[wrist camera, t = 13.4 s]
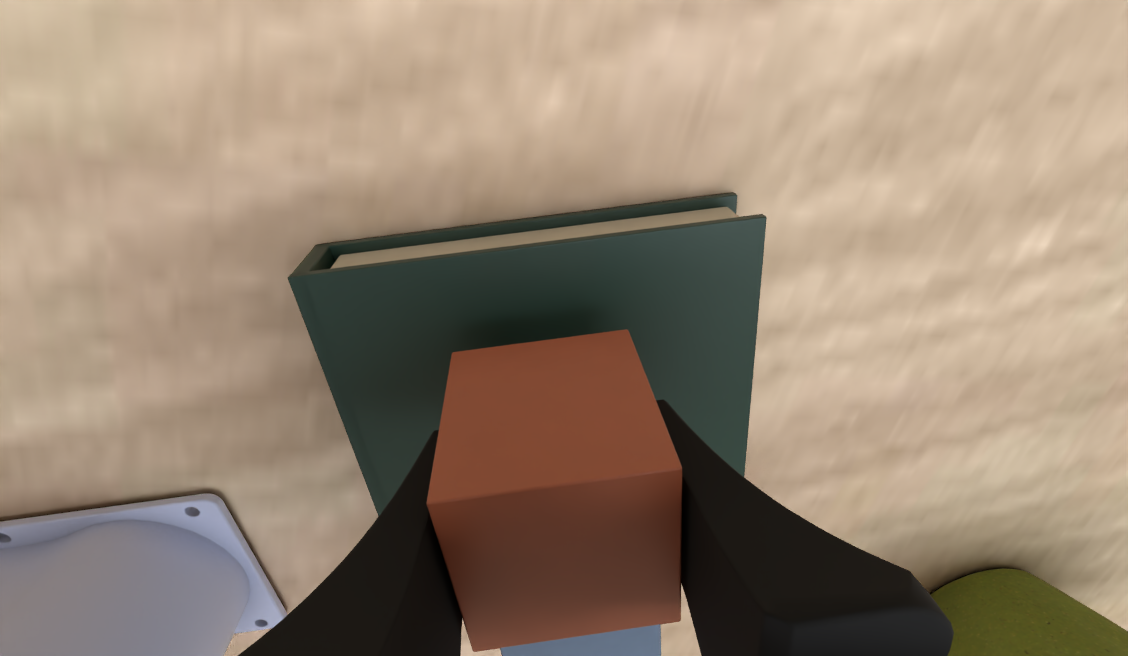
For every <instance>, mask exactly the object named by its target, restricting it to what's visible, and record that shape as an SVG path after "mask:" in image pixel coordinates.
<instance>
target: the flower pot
mask: <svg viewBox="0 0 1128 656" xmlns="http://www.w3.org/2000/svg"><path fill="white" fill-rule="evenodd" d="M930 595H931V597H932V598H933V599H934V600H935V602H936V603H937V604H938V606H939V607H940V609H941V610H942V611H943V613H944V614H945V615H946V617H947V618H948V619H949V621H950V622H951V625H952V628H953V632H954V635H953V640H952V644H951V648H950V651H949V653H948V656H1128V631H1126V630H1124V629H1123V628H1121V627H1120V626H1118V625H1117V624H1115V623H1113V622H1112V621H1110V620H1109V619H1107V618H1105V617H1104V616H1102V615H1100V614H1098V613H1097V612H1095V611H1093V610H1092V609H1090V608H1088V607H1087V606H1085V605H1083V604H1082V603H1080V602H1078V601H1077V600H1075V599H1073V598H1072V597H1070V596H1068V595H1067V594H1065V593H1063V592H1062V591H1060V590H1058V589H1057V588H1055V587H1053V586H1051V585H1050V584H1048V583H1046V582H1045V581H1043V580H1041V579H1039V578H1037V577H1036V576H1034V575H1032V574H1030V573H1028V572H1026V571H1022V570H1017V569H992V570H986V571H982V572H977V573H974V574H971V575H968V576H965V577H962V578H960V579H957V580H955V581H953V582H951V583H949V584H947V585H945V586H943V587H941V588H940V589H938V590H937V591H935V592H933V593H932V594H930Z"/></svg>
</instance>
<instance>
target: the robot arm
mask: <svg viewBox="0 0 1128 656" xmlns="http://www.w3.org/2000/svg"><path fill="white" fill-rule="evenodd" d="M656 402H657V405H658V407H659V410H660V412H661V415H662V417H663V420H664V422H665V425H666V428H667V430H668V433H669V435H670V438H671V440H672V443H673V445H674V448H675V451H676V453H677V456H678V458H679V461H680V463H681V466H682V540H681V583H682V586H683V589H684V592H685V595H686V599H687V602H688V606H689V610H690V613H691V617H692V621H693V625H694V628H695V632H696V636H697V639H698V643H699V647H700V651H701V655H702V656H948V653H949V651H950V648H951V644H952V640H953V635H954V632H953V628H952V625H951V622H950V621H949V619H948V618H947V617H946V615H945V614H944V613H943V611H942V610H941V609H940V607H939V606H938V604H937V603H936V602H935V600H934V599H933V598H932V597H931V595H930V594H929V593H928V592H927V590H926V589H925V588H924V587H923V586H922V585H921V584H920V583H919V582H918V580H917V579H916V578H915V577H914V576H913V575H912V573H911V572H910V571H908V570H906V569H904V568H901V567H899V566H897V565H895V564H892V563H890V562H888V561H885V560H883V559H881V558H879V557H876V556H874V555H872V554H870V553H867V552H865V551H863V550H861V549H859V548H857V547H855V546H853V545H851V544H849V543H847V542H845V541H843V540H841V539H839V538H837V537H835V536H833V535H831V534H829V533H827V532H826V531H824V530H822V529H820V528H819V527H817V526H815V525H813V524H812V523H810V522H808V521H807V520H805V519H803V518H802V517H800V516H798V515H797V514H795V513H793V512H792V511H790V510H788V509H787V508H785V507H784V506H782V505H781V504H779V503H778V502H776V501H775V500H773V499H772V498H771V497H769V496H768V495H767V494H765V493H764V492H762V491H761V490H760V489H758V488H757V487H756V486H754V485H753V484H752V483H751V482H749V481H748V480H747V479H746V478H744V477H743V476H742V475H741V474H739V473H738V472H737V471H736V470H735V469H734V468H732V467H731V466H730V465H729V464H728V463H727V462H725V461H724V460H723V459H722V458H721V457H720V456H719V455H718V454H717V453H716V452H715V451H714V450H712V449H711V448H710V447H709V446H708V445H707V444H706V443H705V442H704V441H703V440H702V439H701V438H700V437H699V436H698V435H697V434H696V433H695V432H694V431H693V430H692V429H691V428H690V427H689V426H688V425H687V423H686V422H685V421H684V420H683V419H682V418H681V417H680V416H679V415H678V414H677V412H676V411H675V410H674V409H673V408H672V407H671V406H670V404H669V403H668V402H667V401H665V400H664V399H662V400H656ZM438 432H439V430H434V431H433V433H432V434H431V435H430V437H429V439H428V441H427V442H426V444H425V446H424V448H423V449H422V451H421V453H420V455H419V456H418V458H417V460H416V461H415V463H414V465H413V466H412V468H411V470H410V471H409V473H408V474H407V476H406V477H405V479H404V480H403V482H402V484H401V485H400V487H399V488H398V490H397V491H396V493H395V494H394V496H393V497H392V499H391V500H390V502H389V503H388V504H387V506H386V507H385V508H384V510H383V511H382V513H381V514H380V515H379V517H378V518H377V520H376V521H375V522H374V524H373V525H372V526H371V528H370V529H369V530H368V531H367V533H366V534H365V535H364V536H363V538H362V539H361V540H360V541H359V543H358V544H357V545H356V546H355V547H354V548H353V550H352V551H351V552H350V553H349V554H348V555H347V557H346V558H345V559H344V560H343V561H342V562H341V563H340V564H339V565H338V566H337V567H336V569H335V570H334V571H333V572H332V573H331V574H330V575H329V576H328V577H327V578H326V579H325V580H324V581H323V582H322V583H321V584H320V585H319V586H318V587H317V588H316V589H315V590H314V591H313V592H312V593H311V594H310V595H309V596H308V597H307V598H306V599H305V600H304V601H303V602H301V603H300V604H299V605H298V606H297V607H296V608H295V609H294V610H293V611H292V612H290V613H289V614H288V615H287V612H286V610H285V608H284V607H283V605H282V603H281V601H280V600H279V598H278V596H277V594H276V593H275V591H274V589H273V587H272V586H271V584H270V582H269V580H268V579H267V577H266V575H265V573H264V572H263V570H262V568H261V566H260V565H259V563H258V561H257V559H256V558H255V556H254V554H253V552H252V551H251V549H250V547H249V545H248V544H247V542H246V540H245V538H244V537H243V535H242V533H241V531H240V530H239V528H238V526H237V524H236V523H235V521H234V519H233V518H232V516H231V514H230V512H229V511H228V509H227V507H226V505H225V504H224V502H223V500H222V499H221V498H220V497H218V496H217V495H214V494H198V495H191V496H183V497H176V498H169V499H162V500H154V501H147V502H140V503H132V504H125V505H118V506H111V507H103V508H96V509H89V510H82V511H74V512H67V513H60V514H53V515H45V516H38V517H31V518H23V519H16V520H9V521H2V522H0V656H224V654H225V652H226V650H227V648H228V645H229V643H230V641H231V639H232V636H233V634H235V633H242V632H249V631H256V630H263V629H270V628H272V629H271V630H270V631H268V632H267V633H266V634H265V635H264V636H262V637H261V638H260V639H259V640H257V641H256V642H255V643H254V644H252V645H251V646H250V647H248V648H247V649H246V650H245V651H243V652H242V653H241V654H239V655H238V656H460V652H461V627H462V615H461V611H460V608H459V605H458V602H457V599H456V596H455V592H454V589H453V586H452V583H451V580H450V576H449V573H448V570H447V567H446V564H445V561H444V557H443V554H442V551H441V548H440V545H439V542H438V538H437V535H436V532H435V529H434V526H433V523H432V519H431V516H430V513H429V510H428V507H427V497H428V492H429V486H430V480H431V474H432V468H433V462H434V456H435V450H436V444H437V438H438ZM196 508H197V509H196Z"/></svg>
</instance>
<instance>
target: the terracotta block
mask: <svg viewBox="0 0 1128 656" xmlns="http://www.w3.org/2000/svg"><path fill="white" fill-rule="evenodd" d="M427 507H428V510H429V513H430V516H431V519H432V523H433V526H434V529H435V532H436V535H437V538H438V542H439V545H440V548H441V551H442V554H443V557H444V561H445V564H446V567H447V570H448V573H449V576H450V580H451V583H452V586H453V589H454V592H455V596H456V599H457V602H458V605H459V608H460V611H461V615H462V618H463V621H464V624H465V627H466V630H467V634H468V637H469V640H470V643H471V646H472V649H473V651H474V652H477V651H484V650H490V649H497V648H504V647H511V646H517V645H524V644H531V643H538V642H544V641H551V640H558V639H565V638H572V637H578V636H585V635H592V634H599V633H605V632H612V631H619V630H626V629H632V628H639V627H646V626H653V625H659V624H666V623H673V622H679V621H680V620H681V540H682V466H681V463H680V461H679V458H678V456H677V453H676V451H675V448H674V445H673V443H672V440H671V438H670V435H669V433H668V430H667V428H666V425H665V422H664V420H663V417H662V415H661V412H660V410H659V407H658V405H657V402H656V399H655V397H654V394H653V392H652V389H651V387H650V384H649V382H648V379H647V376H646V374H645V371H644V369H643V366H642V364H641V361H640V359H639V356H638V354H637V351H636V348H635V346H634V343H633V341H632V338H631V336H630V333H629V331H628V330H627V329H625V330H618V331H610V332H603V333H595V334H587V335H580V336H572V337H565V338H557V339H549V340H542V341H534V342H527V343H519V344H511V345H504V346H496V347H489V348H481V349H474V350H466V351H458V352H453V353H452V355H451V361H450V367H449V373H448V379H447V385H446V391H445V397H444V403H443V408H442V414H441V420H440V426H439V432H438V438H437V444H436V450H435V456H434V462H433V468H432V474H431V480H430V486H429V492H428V497H427Z"/></svg>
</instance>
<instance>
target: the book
mask: <svg viewBox="0 0 1128 656" xmlns="http://www.w3.org/2000/svg"><path fill="white" fill-rule="evenodd" d="M736 206H737V195H736V194H735V193H726V194H718V195H710V196H702V197H694V198H686V199H678V200H670V201H662V202H654V203H646V204H638V205H630V206H622V207H614V208H606V209H598V210H590V211H582V212H574V213H566V214H558V215H550V216H542V217H534V218H526V219H518V220H510V221H502V222H494V223H486V224H478V225H470V226H462V227H454V228H446V229H438V230H430V231H422V232H414V233H406V234H398V235H390V236H382V237H374V238H366V239H358V240H350V241H342V242H334V243H326V244H318V245H315V247H314V248H313V249H312V251H311V252H310V253H309V254H308V255H307V256H306V258H305V259H304V260H303V261H302V262H301V263H300V265H299V266H298V267H297V268H296V269H295V270H294V272H293V273H292V274H291V275H290V276H289V277H288V280H289V283H290V285H291V288H292V291H293V293H294V296H295V298H296V301H297V304H298V306H299V309H300V312H301V314H302V317H303V319H304V322H305V325H306V327H307V330H308V332H309V335H310V338H311V340H312V343H313V346H314V348H315V351H316V353H317V356H318V359H319V361H320V364H321V367H322V369H323V372H324V374H325V377H326V380H327V382H328V385H329V387H330V390H331V393H332V395H333V398H334V401H335V403H336V406H337V408H338V411H339V414H340V416H341V419H342V421H343V424H344V427H345V429H346V432H347V435H348V437H349V440H350V442H351V445H352V448H353V450H354V453H355V456H356V458H357V461H358V463H359V466H360V469H361V471H362V474H363V476H364V479H365V482H366V484H367V487H368V490H369V492H370V495H371V497H372V500H373V503H374V505H375V508H376V511H377V513H378V516H379V515H380V514H381V513H382V511H383V510H384V508H385V507H386V506H387V504H388V503H389V502H390V500H391V499H392V497H393V496H394V494H395V493H396V491H397V490H398V488H399V487H400V485H401V484H402V482H403V480H404V479H405V477H406V476H407V474H408V473H409V471H410V470H411V468H412V466H413V465H414V463H415V461H416V460H417V458H418V456H419V455H420V453H421V451H422V449H423V448H424V446H425V444H426V442H427V441H428V439H429V437H430V435H431V434H432V433H433V431H434V430H439V426H440V420H441V414H442V408H443V403H444V397H445V391H446V385H447V379H448V373H449V367H450V361H451V355H452V353H453V352H458V351H466V350H474V349H481V348H489V347H496V346H504V345H511V344H519V343H527V342H534V341H542V340H549V339H557V338H565V337H572V336H580V335H587V334H595V333H603V332H610V331H618V330H625V329H627V330H628V331H629V333H630V336H631V338H632V341H633V343H634V346H635V348H636V351H637V354H638V356H639V359H640V361H641V364H642V366H643V369H644V371H645V374H646V376H647V379H648V382H649V384H650V387H651V389H652V392H653V394H654V397H655V399H656V400H662V399H664V400H665V401H667V402H668V403H669V404H670V406H671V407H672V408H673V409H674V410H675V411H676V412H677V414H678V415H679V416H680V417H681V418H682V419H683V420H684V421H685V422H686V423H687V425H688V426H689V427H690V428H691V429H692V430H693V431H694V432H695V433H696V434H697V435H698V436H699V437H700V438H701V439H702V440H703V441H704V442H705V443H706V444H707V445H708V446H709V447H710V448H711V449H712V450H714V451H715V452H716V453H717V454H718V455H719V456H720V457H721V458H722V459H723V460H724V461H725V462H727V463H728V464H729V465H730V466H731V467H732V468H734V469H735V470H736V471H737V472H738V473H739V474H741V475H742V476H743V477H744V472H745V461H746V449H747V438H748V426H749V414H750V403H751V391H752V380H753V368H754V356H755V345H756V333H757V322H758V310H759V298H760V287H761V275H762V264H763V252H764V240H765V229H766V216H764V215H763V214H759V215H751V216H743V217H739V216H738V215H736Z"/></svg>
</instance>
